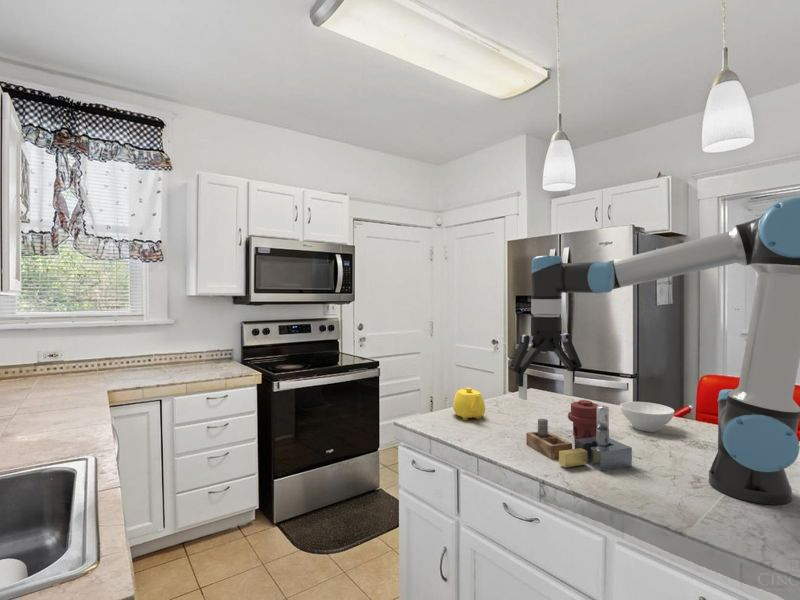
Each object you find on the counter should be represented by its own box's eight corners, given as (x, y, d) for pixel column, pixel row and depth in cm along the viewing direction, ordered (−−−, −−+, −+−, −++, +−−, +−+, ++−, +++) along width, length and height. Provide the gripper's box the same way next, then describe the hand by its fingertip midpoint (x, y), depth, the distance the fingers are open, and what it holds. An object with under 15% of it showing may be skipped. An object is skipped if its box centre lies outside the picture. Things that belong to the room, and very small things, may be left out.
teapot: (494, 423, 155) (494, 393, 154) (464, 425, 152) (464, 394, 152) (474, 409, 172) (474, 382, 172) (447, 411, 170) (447, 384, 169)
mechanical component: (598, 436, 140) (606, 447, 130) (565, 434, 142) (570, 445, 132) (598, 398, 139) (606, 406, 130) (565, 396, 141) (571, 404, 132)
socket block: (631, 466, 116) (631, 447, 116) (600, 471, 113) (600, 451, 113) (603, 453, 126) (604, 435, 126) (574, 457, 123) (574, 439, 123)
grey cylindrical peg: (611, 463, 119) (611, 407, 118) (601, 464, 118) (602, 408, 117) (602, 458, 122) (603, 404, 121) (593, 460, 121) (593, 405, 120)
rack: (572, 455, 124) (572, 427, 124) (551, 458, 122) (551, 430, 122) (546, 441, 135) (546, 416, 135) (526, 444, 133) (526, 418, 133)
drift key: (587, 464, 117) (587, 451, 117) (564, 467, 115) (564, 454, 115) (580, 460, 119) (581, 448, 119) (559, 464, 117) (559, 450, 117)
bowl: (675, 439, 137) (675, 416, 137) (618, 431, 145) (618, 410, 145) (673, 425, 151) (673, 405, 151) (621, 418, 159) (621, 399, 159)
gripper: (577, 313, 121) (576, 390, 122) (495, 315, 114) (495, 396, 115) (596, 315, 114) (595, 396, 114) (510, 317, 107) (510, 404, 108)
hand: (545, 397), depth 115 cm, fingers open, 13 cm apart
